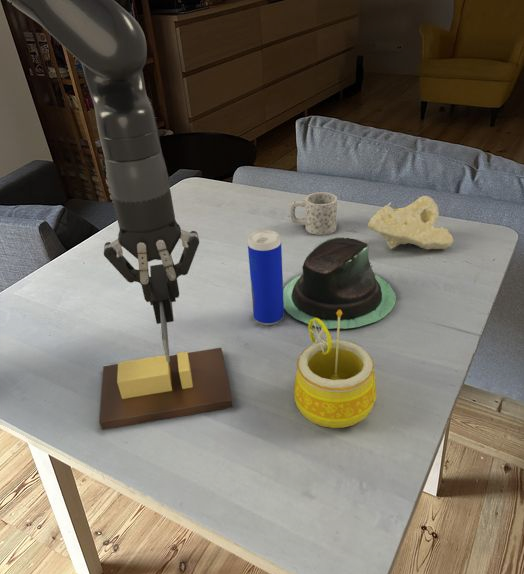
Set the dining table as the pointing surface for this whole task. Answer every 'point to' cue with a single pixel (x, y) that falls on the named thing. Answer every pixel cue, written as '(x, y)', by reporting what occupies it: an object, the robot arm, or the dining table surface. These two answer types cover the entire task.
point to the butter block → (144, 377)
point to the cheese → (412, 225)
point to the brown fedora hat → (339, 287)
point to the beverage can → (266, 276)
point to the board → (169, 393)
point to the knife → (161, 302)
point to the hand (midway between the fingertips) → (163, 300)
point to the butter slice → (184, 370)
